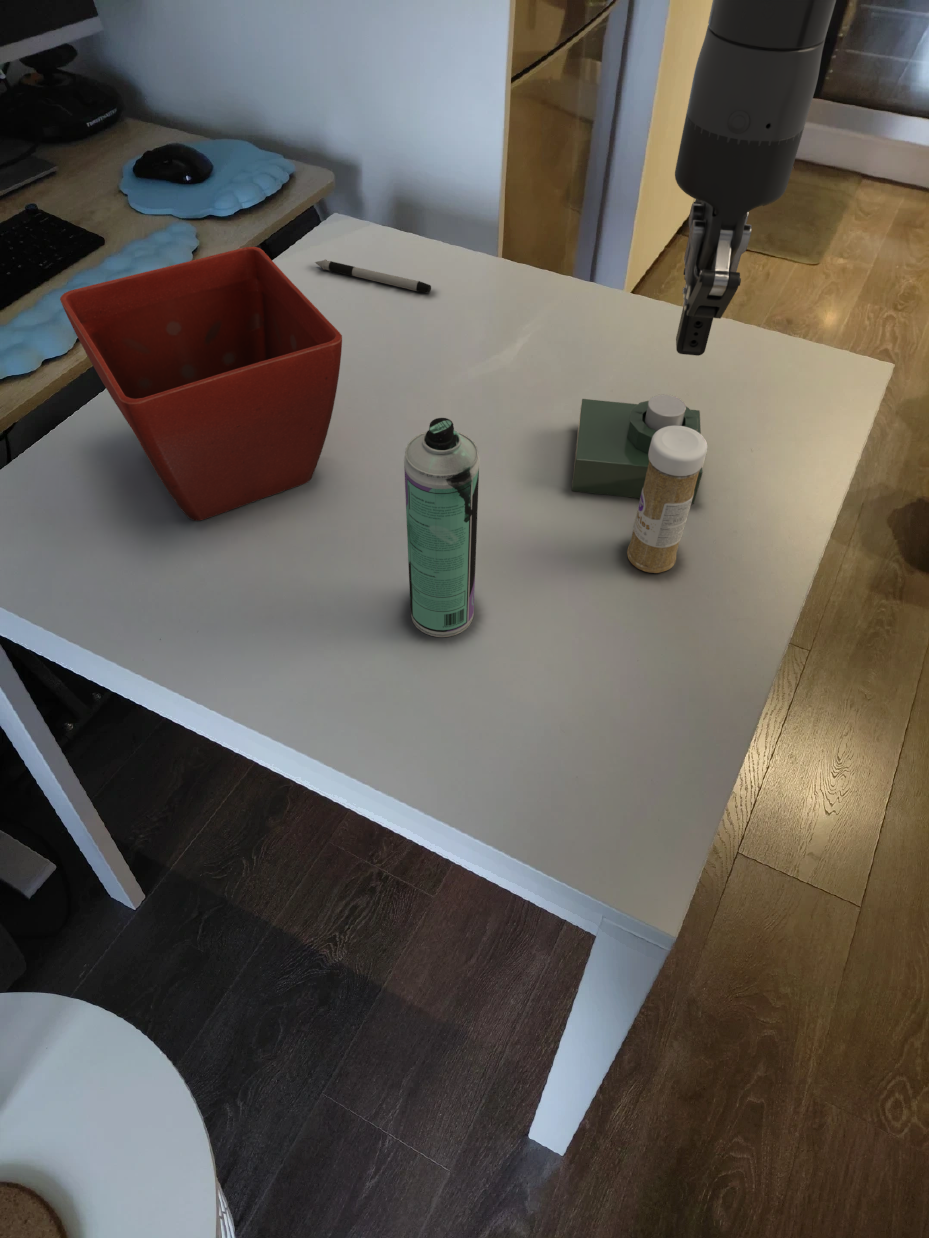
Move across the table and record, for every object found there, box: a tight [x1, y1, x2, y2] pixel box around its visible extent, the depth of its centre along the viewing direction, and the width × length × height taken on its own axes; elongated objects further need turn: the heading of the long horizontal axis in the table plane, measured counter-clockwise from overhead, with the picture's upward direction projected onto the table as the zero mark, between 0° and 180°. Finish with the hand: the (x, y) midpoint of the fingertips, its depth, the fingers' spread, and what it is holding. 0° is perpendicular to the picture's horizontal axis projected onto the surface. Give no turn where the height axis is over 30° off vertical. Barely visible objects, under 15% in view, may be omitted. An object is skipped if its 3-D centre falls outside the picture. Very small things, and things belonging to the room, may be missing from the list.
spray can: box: [403, 417, 480, 638], centre depth 71 cm, size 6×6×20 cm
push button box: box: [571, 398, 704, 505], centre depth 90 cm, size 12×10×6 cm
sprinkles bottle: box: [626, 426, 708, 574], centre depth 78 cm, size 5×5×14 cm
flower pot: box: [59, 246, 343, 522], centre depth 84 cm, size 19×19×17 cm
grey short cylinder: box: [645, 393, 687, 431], centre depth 87 cm, size 4×4×2 cm
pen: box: [314, 259, 432, 294], centre depth 115 cm, size 1×16×1 cm, turn 68°
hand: (689, 349), depth 71 cm, fingers closed
